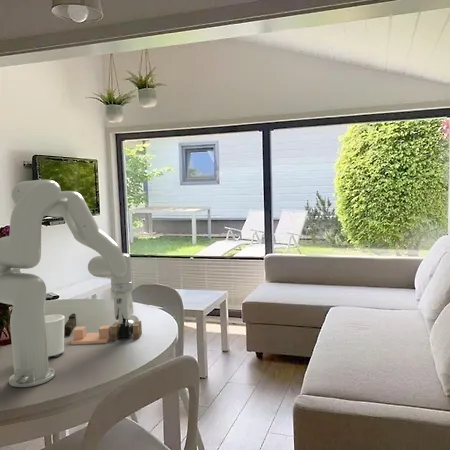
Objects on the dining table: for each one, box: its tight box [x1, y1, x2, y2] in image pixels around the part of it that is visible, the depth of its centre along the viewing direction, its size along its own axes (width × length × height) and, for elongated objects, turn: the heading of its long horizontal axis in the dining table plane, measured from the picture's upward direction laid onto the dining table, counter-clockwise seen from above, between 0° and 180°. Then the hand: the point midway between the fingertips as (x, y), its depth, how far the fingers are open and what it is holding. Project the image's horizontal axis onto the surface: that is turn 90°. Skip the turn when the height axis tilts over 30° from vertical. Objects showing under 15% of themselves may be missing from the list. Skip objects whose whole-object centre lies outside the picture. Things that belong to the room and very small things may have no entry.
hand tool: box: [64, 313, 77, 337], centre depth 186 cm, size 19×4×5 cm, turn 6°
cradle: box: [70, 324, 112, 345], centre depth 171 cm, size 10×13×4 cm
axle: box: [119, 314, 140, 338], centre depth 177 cm, size 12×5×5 cm, turn 178°
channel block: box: [111, 320, 143, 341], centre depth 172 cm, size 6×10×5 cm, turn 89°
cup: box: [45, 314, 66, 359], centre depth 155 cm, size 10×10×13 cm
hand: (124, 336), depth 169 cm, fingers closed
